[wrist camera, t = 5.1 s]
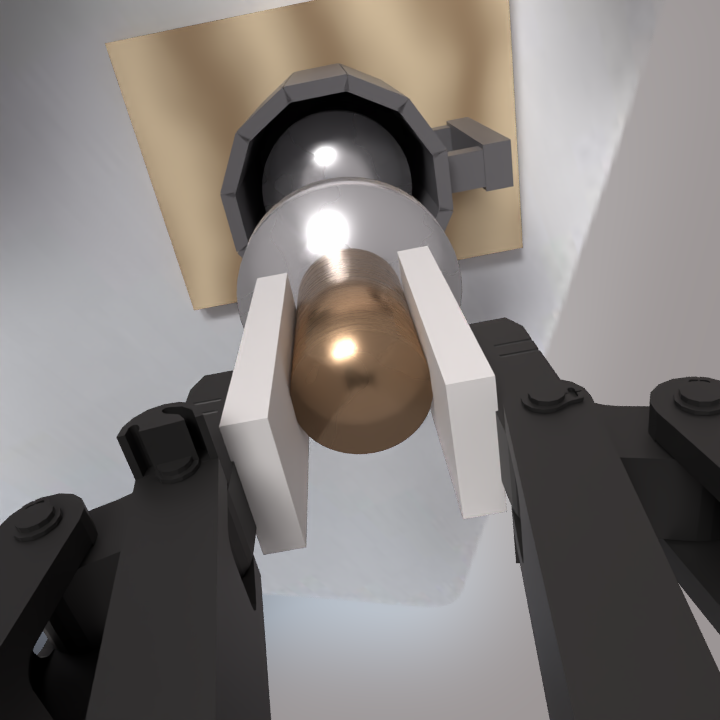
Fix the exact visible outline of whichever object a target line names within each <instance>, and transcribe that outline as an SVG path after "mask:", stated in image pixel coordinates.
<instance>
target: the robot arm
mask: <svg viewBox="0 0 720 720" xmlns="http://www.w3.org/2000/svg"><path fill="white" fill-rule="evenodd" d="M397 254H398V260H399V267H400V273H401V279H402V286H403V292H404V295H405V298H406V301H407V304H408V307H409V310H410V313H411V316H412V319H413V322H414V325H415V328H416V331H417V334H418V337H419V340H420V343H421V347H422V350H423V353H424V356H425V359H426V362H427V365H428V368H429V371H430V378H431V385H432V392H433V399H432V403H431V407H430V410H431V413H432V416H433V420H434V423H435V426H436V430H437V433H438V436H439V440H440V443H441V446H442V450H443V453H444V456H445V460H446V463H447V467H448V470H449V473H450V477H451V480H452V483H453V487H454V490H455V493H456V497H457V500H458V503H459V507H460V510H461V513H462V517H463V519H468V518H474V517H479V516H485V515H490V514H496V513H501V512H507V508H506V496H505V491H506V493H507V496H508V498H509V500H510V503H511V505H512V516H513V529H514V541H515V554H516V563H520V566H521V571H522V576H523V582H524V587H525V592H526V597H527V603H528V608H529V613H530V618H531V624H532V629H533V634H534V639H535V645H536V650H537V655H538V660H539V665H540V671H541V676H542V681H543V686H544V692H545V697H546V702H547V707H548V712H549V718H550V720H720V672H719V670H718V667H717V665H716V663H715V661H714V659H713V657H712V655H711V652H710V650H709V648H708V646H707V644H706V642H705V639H704V637H703V635H702V633H701V631H700V629H699V627H698V625H697V622H696V620H695V618H694V616H693V614H692V612H691V610H690V607H689V605H688V603H687V601H686V599H685V597H684V594H683V592H682V590H681V588H680V586H681V587H682V588H683V589H684V591H685V592H686V593H687V594H688V595H689V597H690V598H691V599H692V601H693V602H694V603H695V604H696V605H697V607H698V608H699V609H700V610H701V612H702V613H703V614H704V616H705V617H706V618H707V619H708V620H709V622H710V623H711V624H712V625H713V627H714V628H715V629H716V630H717V632H718V633H719V634H720V381H719V380H715V379H711V378H706V377H686V378H678V379H672V380H669V381H666V382H664V383H661V384H659V385H658V386H657V387H656V388H655V389H654V390H653V391H652V392H651V394H650V407H648V406H647V407H646V406H610V405H602V404H597V403H594V401H593V399H592V397H591V395H590V394H589V393H588V392H587V391H586V390H585V388H583V387H581V386H579V385H577V384H575V383H573V382H570V381H565V380H560V378H559V377H558V376H557V374H556V373H555V371H554V370H553V369H552V367H551V366H550V364H549V363H548V361H547V360H546V358H545V357H544V356H543V354H542V353H541V351H539V350H538V347H537V346H536V344H535V343H534V341H532V340H531V337H530V336H529V334H528V333H527V332H526V330H525V329H524V327H523V326H521V325H519V324H517V323H515V322H513V321H511V320H509V319H507V318H500V319H495V320H490V321H484V322H479V323H474V324H468V323H467V321H466V319H465V317H464V315H463V313H462V311H461V309H460V307H459V305H458V303H457V301H456V300H455V298H454V296H453V294H452V292H451V290H450V288H449V286H448V284H447V282H446V280H445V278H444V276H443V275H442V273H441V271H440V269H439V267H438V265H437V263H436V261H435V259H434V257H433V255H432V253H431V251H430V250H429V248H428V246H424V247H418V248H413V249H408V250H403V251H397ZM296 312H297V310H296V306H295V302H294V298H293V294H292V290H291V286H290V282H289V278H288V274H287V273H283V274H278V275H272V276H267V277H262V278H257V281H256V285H255V289H254V293H253V297H252V301H251V305H250V308H249V312H248V316H247V320H246V324H245V328H244V332H243V336H242V339H241V343H240V347H239V351H238V355H237V359H236V363H235V367H234V370H233V371H227V372H222V373H217V374H211V375H206V376H204V377H203V378H202V379H201V380H200V381H199V382H198V383H197V384H196V385H195V386H194V387H193V388H192V389H191V390H190V392H189V395H188V398H187V401H186V402H176V403H170V404H164V405H161V406H158V407H155V408H152V409H149V410H147V411H145V412H143V413H142V414H140V415H138V416H136V417H134V418H133V419H132V420H130V421H129V422H128V423H127V424H126V425H125V426H124V427H122V429H121V431H120V432H119V434H118V436H117V440H118V442H119V444H120V446H121V449H122V451H123V453H124V455H125V458H126V460H127V462H128V464H129V466H130V469H131V471H132V473H133V475H134V478H135V485H134V490H133V493H132V494H129V495H127V496H125V497H123V498H121V499H119V500H116V501H113V502H111V503H108V504H106V505H103V506H101V507H98V508H95V509H93V510H90V511H88V510H87V508H86V506H85V504H84V502H83V500H82V498H80V497H78V496H76V495H74V494H60V493H59V494H55V495H51V496H47V497H42V498H40V499H37V500H35V501H32V502H30V503H28V504H26V505H25V506H23V507H22V508H21V509H19V510H18V511H16V512H15V513H13V514H12V515H11V516H9V517H8V518H7V519H6V520H5V521H4V522H3V523H2V524H1V525H0V720H271V713H270V700H269V686H268V672H267V657H266V643H265V630H264V616H263V601H262V587H261V575H260V572H259V569H258V566H257V564H256V561H255V558H254V555H253V552H254V544H255V536H256V535H257V538H258V540H259V543H260V546H261V549H262V552H263V555H265V554H271V553H277V552H282V551H288V550H294V549H299V548H305V547H306V537H307V498H308V458H309V436H308V435H307V433H306V432H305V431H304V430H303V429H302V428H301V426H300V425H299V424H298V422H297V419H296V416H295V412H294V408H293V405H292V401H291V397H290V384H291V372H292V360H293V348H294V336H295V324H296ZM678 583H679V584H680V586H679V584H678ZM42 631H44V633H45V634H46V636H47V638H48V640H47V641H46V643H45V645H44V647H43V649H42V650H41V651H40V652H39V654H38V655H36V654H34V652H33V648H34V646H35V644H36V642H37V640H38V638H39V637H40V635H41V633H42Z"/></svg>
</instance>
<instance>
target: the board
mask: <svg viewBox="0 0 720 720" xmlns="http://www.w3.org/2000/svg"><path fill="white" fill-rule="evenodd" d="M105 45H106V48H107V51H108V54H109V57H110V60H111V63H112V66H113V69H114V72H115V75H116V78H117V81H118V84H119V87H120V90H121V93H122V96H123V99H124V102H125V105H126V108H127V111H128V114H129V117H130V120H131V123H132V126H133V129H134V132H135V134H136V137H137V140H138V143H139V146H140V149H141V152H142V155H143V158H144V161H145V164H146V167H147V170H148V173H149V176H150V179H151V182H152V185H153V188H154V191H155V194H156V197H157V200H158V203H159V206H160V209H161V212H162V215H163V218H164V221H165V224H166V227H167V230H168V233H169V236H170V239H171V242H172V245H173V248H174V251H175V254H176V257H177V260H178V263H179V266H180V269H181V272H182V275H183V278H184V281H185V284H186V287H187V290H188V293H189V296H190V299H191V302H192V305H193V308H194V310H199V309H204V308H209V307H215V306H220V305H225V304H230V303H235V302H237V279H238V274H239V269H240V264H241V262H242V259H243V258H242V257H241V256H240V255H239V254H238V253H237V252H236V249H235V245H234V242H233V238H232V234H231V231H230V227H229V224H228V220H227V217H226V213H225V210H224V206H223V203H222V199H221V196H220V194H221V193H220V192H221V188H222V184H223V180H224V176H225V172H226V168H227V164H228V160H229V157H230V153H231V149H232V145H233V141H234V137H235V133H236V132H237V130H238V129H239V128H240V127H241V126H242V125H243V124H244V123H245V121H246V120H247V119H248V118H249V117H250V116H251V115H252V114H253V112H254V111H255V110H256V109H257V108H258V107H259V106H260V105H261V103H262V102H264V101H265V100H266V99H267V98H268V97H269V96H270V95H271V94H272V93H273V92H274V91H275V90H276V89H277V88H278V87H279V86H280V85H281V84H282V83H283V82H284V81H285V80H286V79H287V78H288V77H289V76H290V75H291V74H292V73H294V72H296V71H301V70H306V69H311V68H316V67H321V66H326V65H331V64H336V63H340V64H343V65H345V66H348V67H350V68H353V69H355V70H358V71H361V72H363V73H366V74H368V75H371V76H373V77H376V78H378V79H381V80H382V81H384V82H385V83H387V84H388V85H390V86H391V87H393V88H394V89H396V90H397V91H399V92H400V93H402V94H403V95H405V96H406V97H408V98H409V99H410V100H411V101H412V103H413V104H414V106H415V107H416V108H417V110H418V111H419V112H420V114H421V115H422V116H423V118H424V119H425V120H426V122H427V123H428V124H429V126H430V127H431V128H434V127H439V126H444V125H447V124H446V121H449V120H454V119H459V118H464V117H469V118H471V119H473V120H475V121H477V122H479V123H480V124H482V125H484V126H486V127H488V128H490V129H492V130H494V131H496V132H498V133H499V134H501V135H503V136H505V137H507V138H509V139H511V151H512V168H513V185H514V186H513V187H508V188H502V189H497V190H492V191H486V190H485V189H483V188H477V189H472V190H467V191H462V192H457V193H452V200H453V209H454V210H453V213H452V216H451V218H450V220H449V223H448V225H447V227H446V230H445V232H444V233H445V234H446V236H447V237H448V239H449V241H450V243H451V245H452V247H453V249H454V251H455V254H456V257H457V260H461V259H466V258H471V257H476V256H482V255H487V254H492V253H497V252H503V251H508V250H513V249H518V248H523V245H522V227H521V209H520V191H519V173H518V155H517V137H516V119H515V101H514V83H513V65H512V47H511V29H510V11H509V0H314V1H309V2H304V3H299V4H294V5H289V6H284V7H280V8H275V9H270V10H265V11H260V12H255V13H250V14H246V15H241V16H236V17H231V18H226V19H221V20H216V21H212V22H207V23H202V24H197V25H192V26H187V27H182V28H177V29H173V30H168V31H163V32H158V33H153V34H148V35H143V36H139V37H134V38H129V39H124V40H119V41H114V42H109V43H105Z"/></svg>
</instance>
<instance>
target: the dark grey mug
mask: <svg viewBox="0 0 720 720" xmlns="http://www.w3.org/2000/svg"><path fill="white" fill-rule="evenodd" d="M324 110H348V111H353V112H357V113H360V114H363V115H365V116H367V117H369V118H371V119H373V120H374V121H376V122H377V123H379V124H380V125H382V126H383V127H384V128H385V129H386V130H387V131H388V132H389V133H390V134H391V135H392V136H393V137H394V139H395V140H396V141H397V143H398V144H399V146H400V147H401V149H402V151H403V153H404V155H405V157H406V159H407V162H408V165H409V168H410V173H411V180H412V196H413V197H414V198H415V199H416V200H417V201H419V202H420V203H421V204H422V205H424V206H425V208H426V209H427V210H428V211H429V212H430V213H431V214H432V215H433V216H434V218H435V219H436V221H437V222H438V224H439V225H440V226H441V228H442V229H443V231H444V232H445V230H446V227H447V225H448V223H449V220H450V218H451V216H452V213H453V210H454V209H453V200H452V193H457V192H462V191H467V190H472V189H477V188H483V189H485V190H486V191H492V190H497V189H502V188H508V187H513V186H514V185H513V168H512V151H511V139H509V138H507V137H505V136H503V135H501V134H499V133H498V132H496V131H494V130H492V129H490V128H488V127H486V126H484V125H482V124H480V123H479V122H477V121H475V120H473V119H471V118H469V117H464V118H459V119H454V120H449V121H446V124H447V125H444V126H439V127H434V128H431V127H430V126H429V124H428V123H427V122H426V120H425V119H424V118H423V116H422V115H421V114H420V112H419V111H418V110H417V108H416V107H415V106H414V104H413V103H412V101H411V100H410V99H409V98H408V97H406V96H405V95H403V94H402V93H400V92H399V91H397V90H396V89H394V88H393V87H391V86H390V85H388V84H387V83H385V82H384V81H382V80H381V79H378V78H376V77H373V76H371V75H368V74H366V73H363V72H361V71H358V70H355V69H353V68H350V67H348V66H345V65H343V64H340V63H336V64H331V65H326V66H321V67H316V68H311V69H306V70H301V71H296V72H294V73H292V74H291V75H290V76H289V77H288V78H287V79H286V80H285V81H284V82H283V83H282V84H281V85H280V86H279V87H278V88H277V89H276V90H275V91H274V92H273V93H272V94H271V95H270V96H269V97H268V98H267V99H266V100H265V101H264V102H262V103H261V105H260V106H259V107H258V108H257V109H256V110H255V111H254V112H253V114H252V115H251V116H250V117H249V118H248V119H247V120H246V121H245V123H244V124H243V125H242V126H241V127H240V128H239V129H238V130H237V132H236V133H235V137H234V141H233V145H232V149H231V153H230V157H229V160H228V164H227V168H226V172H225V176H224V180H223V184H222V188H221V192H220V193H221V194H220V196H221V199H222V203H223V206H224V210H225V213H226V217H227V220H228V224H229V227H230V231H231V234H232V238H233V242H234V245H235V249H236V252H237V253H238V254H239V255H240V256H241V257H242V258H243V256H244V253H245V250H246V247H247V245H248V242H249V239H250V237H251V235H252V234H253V232H254V230H255V228H256V226H257V225H258V224H259V222H260V221H261V219H262V218H263V217H264V215H265V214H266V209H265V206H264V201H263V195H262V180H263V173H264V168H265V164H266V162H267V159H268V156H269V154H270V152H271V150H272V148H273V146H274V144H275V143H276V141H277V140H278V138H279V137H280V136H281V135H282V134H283V133H284V132H285V130H286V129H287V128H289V127H290V126H291V125H292V124H294V123H295V122H297V121H298V120H300V119H301V118H303V117H305V116H308V115H310V114H312V113H316V112H320V111H324Z"/></svg>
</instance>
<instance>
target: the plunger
mask: <svg viewBox="0 0 720 720" xmlns="http://www.w3.org/2000/svg"><path fill="white" fill-rule="evenodd" d="M262 195H263V201H264V206H265V209H266V214H265V215H264V217H263V218H262V219H261V221H260V222H259V224H258V225H257V226H256V228H255V230H254V232H253V234H252V235H251V237H250V239H249V242H248V245H247V247H246V250H245V253H244V256H243V259H242V262H241V264H240V269H239V274H238V279H237V304H238V310H239V315H240V319H241V322H242V325H243V328H245V324H246V320H247V316H248V312H249V308H250V305H251V301H252V297H253V293H254V289H255V285H256V281H257V278H262V277H267V276H272V275H278V274H283V273H287V274H288V278H289V282H290V286H291V290H292V294H293V298H294V302H295V306H296V310H297V312H296V324H295V336H294V348H293V360H292V372H291V384H290V397H291V401H292V405H293V408H294V412H295V416H296V419H297V422H298V424H299V425H300V426H301V428H302V429H303V430H304V431H305V432H306V433H307V435H308V436H310V437H311V438H312V439H313V440H315V441H316V442H318V443H319V444H321V445H323V446H325V447H327V448H329V449H332V450H335V451H338V452H343V453H350V454H368V453H375V452H379V451H383V450H386V449H389V448H391V447H393V446H396V445H398V444H399V443H401V442H403V441H404V440H406V439H407V438H408V437H410V436H411V435H412V434H413V433H414V432H415V431H416V430H417V429H418V428H419V427H420V425H421V424H422V423H423V421H424V420H425V418H426V416H427V414H428V412H429V410H430V407H431V403H432V399H433V392H432V385H431V378H430V371H429V368H428V365H427V362H426V359H425V356H424V353H423V350H422V347H421V343H420V340H419V337H418V334H417V331H416V328H415V325H414V322H413V319H412V316H411V313H410V310H409V307H408V304H407V301H406V298H405V295H404V292H403V286H402V279H401V273H400V267H399V260H398V254H397V251H403V250H408V249H413V248H418V247H424V246H428V248H429V250H430V251H431V253H432V255H433V257H434V259H435V261H436V263H437V265H438V267H439V269H440V271H441V273H442V275H443V276H444V278H445V280H446V282H447V284H448V286H449V288H450V290H451V292H452V294H453V296H454V298H455V300H456V301H457V303H458V305H459V307H460V306H461V296H462V281H461V273H460V267H459V263H458V260H457V257H456V254H455V251H454V249H453V247H452V245H451V243H450V241H449V239H448V237H447V236H446V234H445V233H444V231H443V229H442V228H441V226H440V225H439V224H438V222H437V221H436V219H435V218H434V216H433V215H432V214H431V213H430V212H429V211H428V210H427V209H426V208H425V206H424V205H422V204H421V203H420V202H419V201H417V200H416V199H415V198H414V197H413V196H412V180H411V173H410V168H409V165H408V162H407V159H406V157H405V155H404V153H403V151H402V149H401V147H400V146H399V144H398V143H397V141H396V140H395V139H394V137H393V136H392V135H391V134H390V133H389V132H388V131H387V130H386V129H385V128H384V127H383V126H382V125H380V124H379V123H377V122H376V121H374V120H373V119H371V118H369V117H367V116H365V115H363V114H360V113H357V112H353V111H348V110H324V111H320V112H316V113H312V114H310V115H308V116H305V117H303V118H301V119H300V120H298V121H297V122H295V123H294V124H292V125H291V126H290V127H289V128H287V129H286V130H285V132H284V133H283V134H282V135H281V136H280V137H279V138H278V140H277V141H276V143H275V144H274V146H273V148H272V150H271V152H270V154H269V156H268V159H267V162H266V164H265V168H264V173H263V180H262Z"/></svg>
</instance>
